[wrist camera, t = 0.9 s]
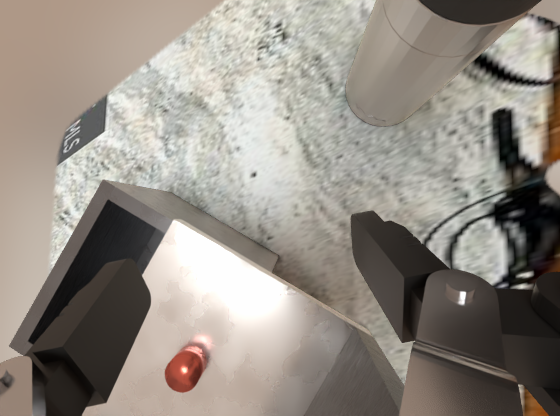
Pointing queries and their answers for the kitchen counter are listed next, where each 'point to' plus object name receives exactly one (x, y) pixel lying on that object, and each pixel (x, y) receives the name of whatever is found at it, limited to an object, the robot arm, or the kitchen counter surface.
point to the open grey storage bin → (122, 246)
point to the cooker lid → (243, 344)
